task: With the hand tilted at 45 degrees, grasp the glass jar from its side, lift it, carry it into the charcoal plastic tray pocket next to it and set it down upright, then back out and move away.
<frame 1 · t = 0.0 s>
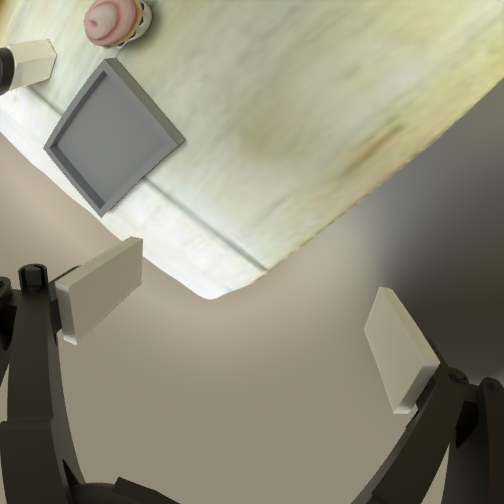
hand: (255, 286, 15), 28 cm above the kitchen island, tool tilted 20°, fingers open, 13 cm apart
tray: (109, 139, 41), on the kitchen island
jar: (41, 61, 32), on the kitchen island
cupcake: (134, 21, 29), on the kitchen island
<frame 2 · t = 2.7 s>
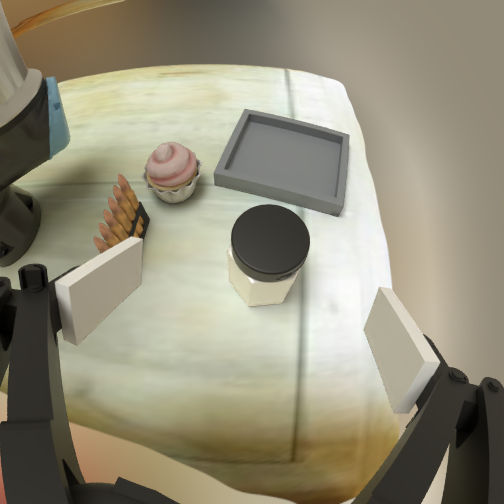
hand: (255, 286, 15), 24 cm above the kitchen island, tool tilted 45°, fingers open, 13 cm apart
tray: (286, 161, 50), on the kitchen island
ammunition clip: (135, 249, 42), on the kitchen island
jar: (261, 278, 41), on the kitchen island
cupcake: (176, 189, 47), on the kitchen island
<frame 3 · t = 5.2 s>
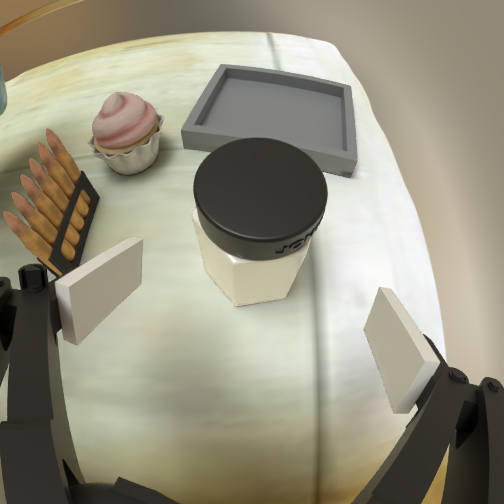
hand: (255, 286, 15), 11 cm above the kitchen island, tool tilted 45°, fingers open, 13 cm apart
tray: (276, 117, 38), on the kitchen island
ammunition clip: (81, 237, 29), on the kitchen island
jar: (252, 264, 28), on the kitchen island
cupcake: (135, 158, 34), on the kitchen island
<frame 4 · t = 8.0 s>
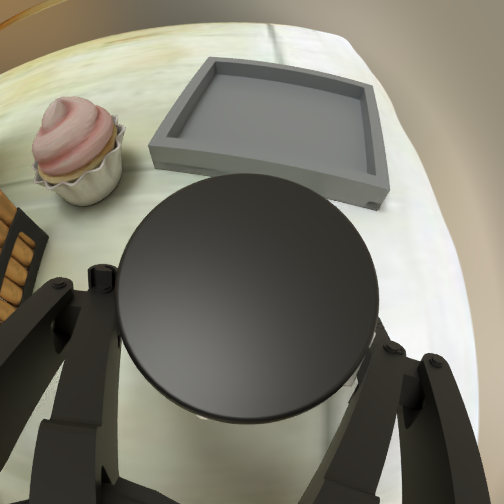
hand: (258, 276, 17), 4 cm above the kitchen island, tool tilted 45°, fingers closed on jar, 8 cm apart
tray: (278, 124, 29), on the kitchen island
ammunition clip: (26, 291, 20), on the kitchen island
jar: (242, 345, 19), on the kitchen island, touching gripper
cupcake: (94, 182, 25), on the kitchen island
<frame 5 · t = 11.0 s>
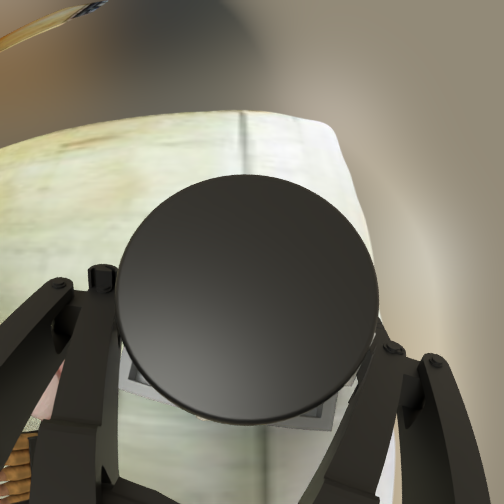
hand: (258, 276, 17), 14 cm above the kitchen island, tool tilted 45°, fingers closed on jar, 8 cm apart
tray: (237, 331, 30), on the kitchen island
ammunition clip: (51, 470, 20), on the kitchen island
jar: (242, 345, 19), point 10 cm above the kitchen island, touching gripper
cupcake: (77, 389, 26), on the kitchen island
when the fingers open (6 cm above the kitchen island, at t = 14.1 s): jar stays where it is, resting on tray.
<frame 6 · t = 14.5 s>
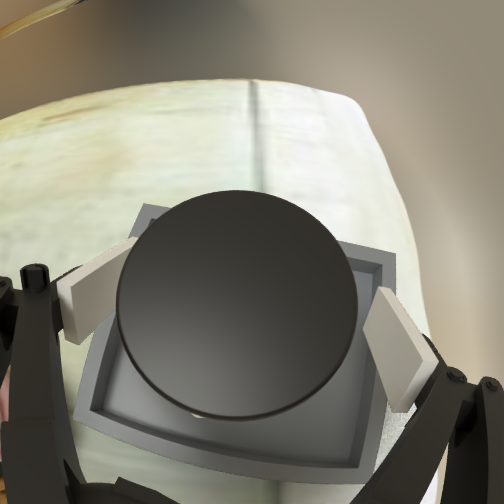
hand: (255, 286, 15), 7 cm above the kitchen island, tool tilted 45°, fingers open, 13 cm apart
tray: (244, 349, 21), on the kitchen island
ammunition clip: (12, 500, 12), on the kitchen island
jar: (237, 347, 20), point 1 cm above the kitchen island, touching tray
cupcake: (35, 412, 17), on the kitchen island
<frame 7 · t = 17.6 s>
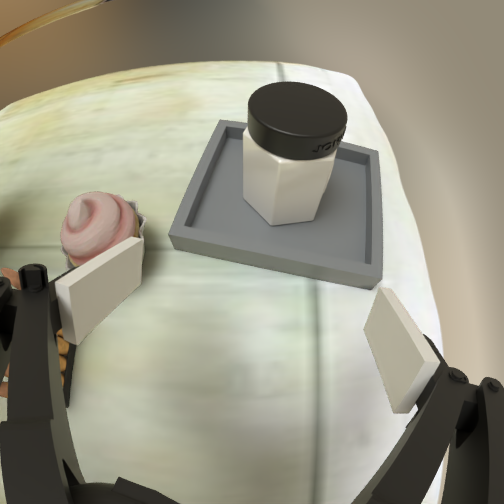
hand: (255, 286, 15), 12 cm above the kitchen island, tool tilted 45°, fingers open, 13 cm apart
tray: (287, 200, 33), on the kitchen island
ammunition clip: (68, 356, 24), on the kitchen island
jar: (283, 195, 32), point 1 cm above the kitchen island, touching tray
cupcake: (119, 257, 30), on the kitchen island
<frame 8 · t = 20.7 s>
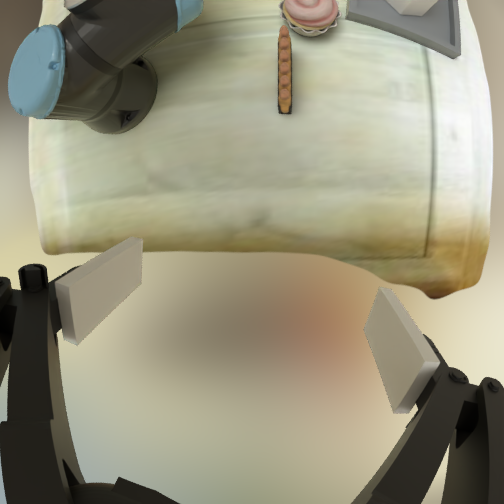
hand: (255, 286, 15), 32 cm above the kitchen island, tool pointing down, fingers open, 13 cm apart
tray: (404, 1, 31), on the kitchen island
ammunition clip: (285, 82, 40), on the kitchen island
cupcake: (308, 22, 36), on the kitchen island
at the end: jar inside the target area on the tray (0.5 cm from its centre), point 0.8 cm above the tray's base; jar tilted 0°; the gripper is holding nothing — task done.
